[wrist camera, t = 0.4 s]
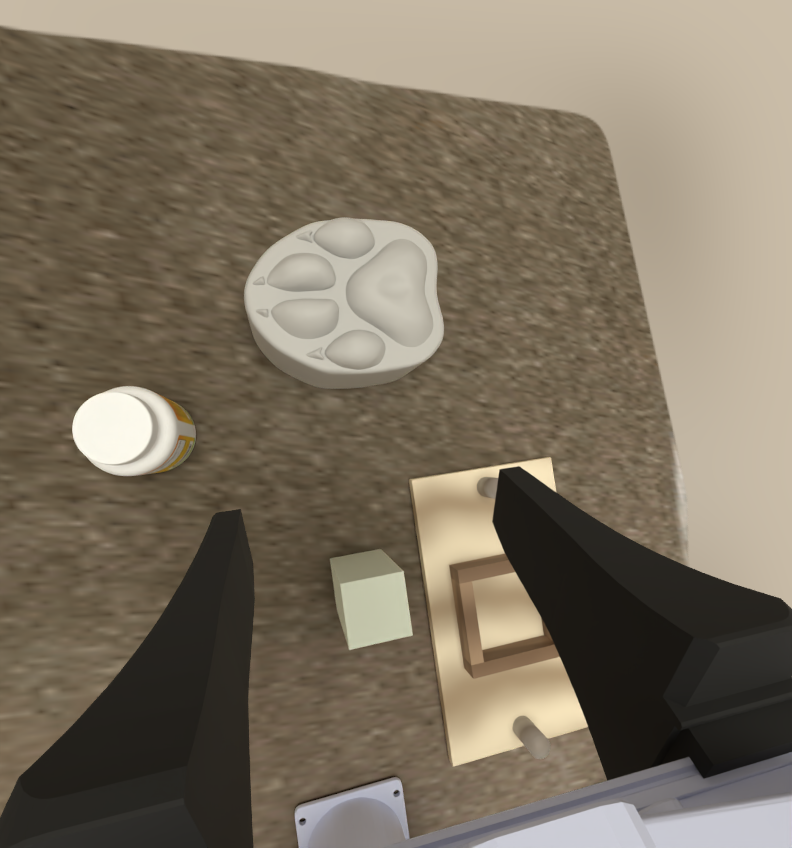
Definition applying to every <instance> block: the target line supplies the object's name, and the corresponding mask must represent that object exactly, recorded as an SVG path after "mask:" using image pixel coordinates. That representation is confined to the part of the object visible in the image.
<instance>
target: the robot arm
mask: <svg viewBox="0 0 792 848" xmlns="http://www.w3.org/2000/svg"><path fill="white" fill-rule="evenodd" d="M492 523H493V525H494V528H495V530H496V533H497V535H498V538H499V541H500V543H501V545H502V548H503V550H504V552H505V554H506V556H507V558H508V560H509V562H510V563H511V565H512V567H513V569H514V570H515V572H516V574H517V576H518V578H519V579H520V581H521V583H522V585H523V586H524V588H525V590H526V592H527V593H528V595H529V597H530V599H531V600H532V602H533V604H534V606H535V607H536V609H537V611H538V613H539V614H540V616H541V618H542V620H543V622H544V624H545V626H546V628H547V629H548V631H549V633H550V636H551V638H552V640H553V642H554V645H555V647H556V649H557V651H558V654H559V656H560V658H561V661H562V663H563V665H564V668H565V670H566V672H567V675H568V677H569V680H570V682H571V684H572V687H573V689H574V692H575V694H576V696H577V699H578V702H579V704H580V707H581V709H582V712H583V715H584V717H585V720H586V722H587V725H588V728H589V730H590V733H591V735H592V738H593V741H594V744H595V747H596V749H597V752H598V755H599V758H600V761H601V764H602V766H603V769H604V772H605V775H606V778H607V781H605V782H601V783H598V784H594V785H591V786H588V787H584V788H581V789H577V790H574V791H571V792H567V793H564V794H560V795H557V796H554V797H550V798H547V799H543V800H540V801H537V802H533V803H530V804H526V805H523V806H519V807H516V808H513V809H509V810H506V811H502V812H499V813H496V814H492V815H489V816H485V817H482V818H479V819H475V820H472V821H468V822H465V823H462V824H458V825H455V826H451V827H448V828H445V829H441V830H438V831H434V832H431V833H428V834H424V835H421V836H417V837H414V838H409V831H408V824H407V817H406V809H405V802H404V795H403V788H402V783H401V780H400V779H399V778H398V777H393V778H390V779H386V780H383V781H379V782H376V783H372V784H369V785H366V786H362V787H359V788H355V789H352V790H348V791H345V792H342V793H338V794H335V795H331V796H328V797H325V798H321V799H318V800H314V801H311V802H307V803H304V804H301V805H299V806H297V807H296V809H295V823H296V831H297V838H298V846H299V848H792V609H791V608H790V607H789V606H788V605H787V604H786V603H785V602H784V601H783V600H782V599H780V598H777V597H774V596H770V595H767V594H764V593H761V592H757V591H754V590H751V589H747V588H744V587H741V586H738V585H735V584H732V583H729V582H726V581H724V580H721V579H718V578H715V577H713V576H710V575H707V574H705V573H702V572H700V571H697V570H695V569H692V568H690V567H687V566H685V565H683V564H680V563H678V562H676V561H674V560H671V559H669V558H667V557H665V556H662V555H660V554H658V553H656V552H654V551H652V550H650V549H648V548H646V547H644V546H642V545H640V544H638V543H636V542H634V541H632V540H631V539H629V538H627V537H625V536H623V535H621V534H620V533H618V532H616V531H614V530H613V529H611V528H609V527H608V526H606V525H604V524H603V523H601V522H600V521H598V520H596V519H595V518H593V517H592V516H590V515H588V514H587V513H585V512H584V511H582V510H581V509H579V508H578V507H576V506H575V505H573V504H572V503H571V502H569V501H568V500H566V499H565V498H563V497H562V496H560V495H559V494H558V493H556V492H555V491H553V490H552V489H551V488H549V487H548V486H547V485H545V484H544V483H542V482H541V481H540V480H538V479H537V478H535V477H534V476H533V475H531V474H530V473H528V472H527V471H526V470H524V469H523V468H521V467H520V466H517V467H511V468H504V469H499V476H498V483H497V491H496V498H495V505H494V512H493V519H492ZM254 601H255V597H254V573H253V561H252V557H251V552H250V548H249V544H248V539H247V535H246V531H245V526H244V522H243V517H242V513H241V509H238V510H232V511H225V512H219V513H216V514H215V515H214V516H213V517H212V520H211V522H210V525H209V527H208V530H207V532H206V535H205V537H204V539H203V541H202V543H201V546H200V548H199V550H198V552H197V554H196V556H195V558H194V560H193V562H192V564H191V565H190V567H189V569H188V571H187V573H186V575H185V577H184V579H183V580H182V582H181V584H180V586H179V587H178V589H177V591H176V592H175V594H174V596H173V597H172V599H171V601H170V602H169V604H168V606H167V607H166V609H165V611H164V612H163V614H162V615H161V617H160V618H159V620H158V621H157V623H156V624H155V626H154V627H153V629H152V630H151V631H150V633H149V634H148V636H147V637H146V638H145V640H144V641H143V643H142V644H141V645H140V647H139V648H138V649H137V651H136V652H135V653H134V654H133V656H132V657H131V658H130V660H129V661H128V662H127V663H126V665H125V666H124V667H123V669H122V670H121V671H120V672H119V674H118V675H117V676H116V677H115V678H114V680H113V681H112V682H111V683H110V684H109V686H108V687H107V688H106V689H105V690H104V691H103V692H102V693H101V695H100V696H99V697H98V698H97V699H96V700H95V701H94V702H93V703H92V704H91V706H90V707H89V708H88V709H87V710H86V711H85V712H84V713H83V714H82V715H81V717H80V718H79V719H78V720H77V721H76V722H75V723H74V724H73V725H72V726H71V727H70V728H69V729H68V730H67V731H66V732H65V734H63V735H62V736H61V737H60V738H59V739H58V740H57V741H56V742H55V743H54V744H53V745H52V746H51V747H50V748H49V749H48V750H47V751H46V752H45V753H44V754H43V755H42V756H41V757H40V758H39V759H38V760H37V761H36V762H35V763H34V764H33V765H32V766H31V767H30V768H29V769H28V770H26V771H25V772H24V773H23V774H22V775H21V776H20V777H19V778H18V780H17V782H16V785H15V787H14V789H13V791H12V793H11V796H10V798H9V800H8V802H7V804H6V806H5V808H4V811H3V813H2V815H1V817H0V848H253V833H252V810H251V786H250V756H249V718H248V688H249V671H250V657H251V644H252V630H253V616H254ZM395 790H399V792H398V793H397V794H394V791H395ZM301 818H305V819H306V820H305V821H303V822H300V821H299V820H300V819H301Z"/></svg>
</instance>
